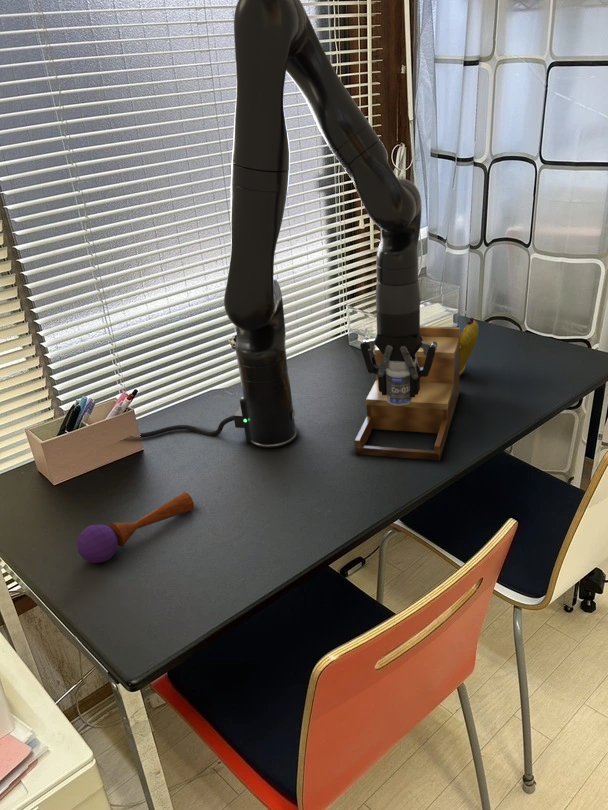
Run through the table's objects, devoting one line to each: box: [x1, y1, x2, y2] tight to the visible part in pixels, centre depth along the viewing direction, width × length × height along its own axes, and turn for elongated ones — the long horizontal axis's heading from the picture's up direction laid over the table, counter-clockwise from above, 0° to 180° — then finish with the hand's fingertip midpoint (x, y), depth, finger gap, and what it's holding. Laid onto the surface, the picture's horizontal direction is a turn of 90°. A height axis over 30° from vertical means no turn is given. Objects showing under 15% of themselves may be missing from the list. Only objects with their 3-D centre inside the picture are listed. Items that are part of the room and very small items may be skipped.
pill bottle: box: [386, 361, 412, 406], centre depth 129 cm, size 5×5×8 cm
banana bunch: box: [459, 316, 480, 377], centre depth 156 cm, size 12×8×15 cm
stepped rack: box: [354, 325, 461, 461], centre depth 139 cm, size 16×28×15 cm, turn 165°
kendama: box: [76, 491, 195, 564], centre depth 115 cm, size 6×6×20 cm
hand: (399, 394), depth 130 cm, fingers closed on pill bottle, 4 cm apart
